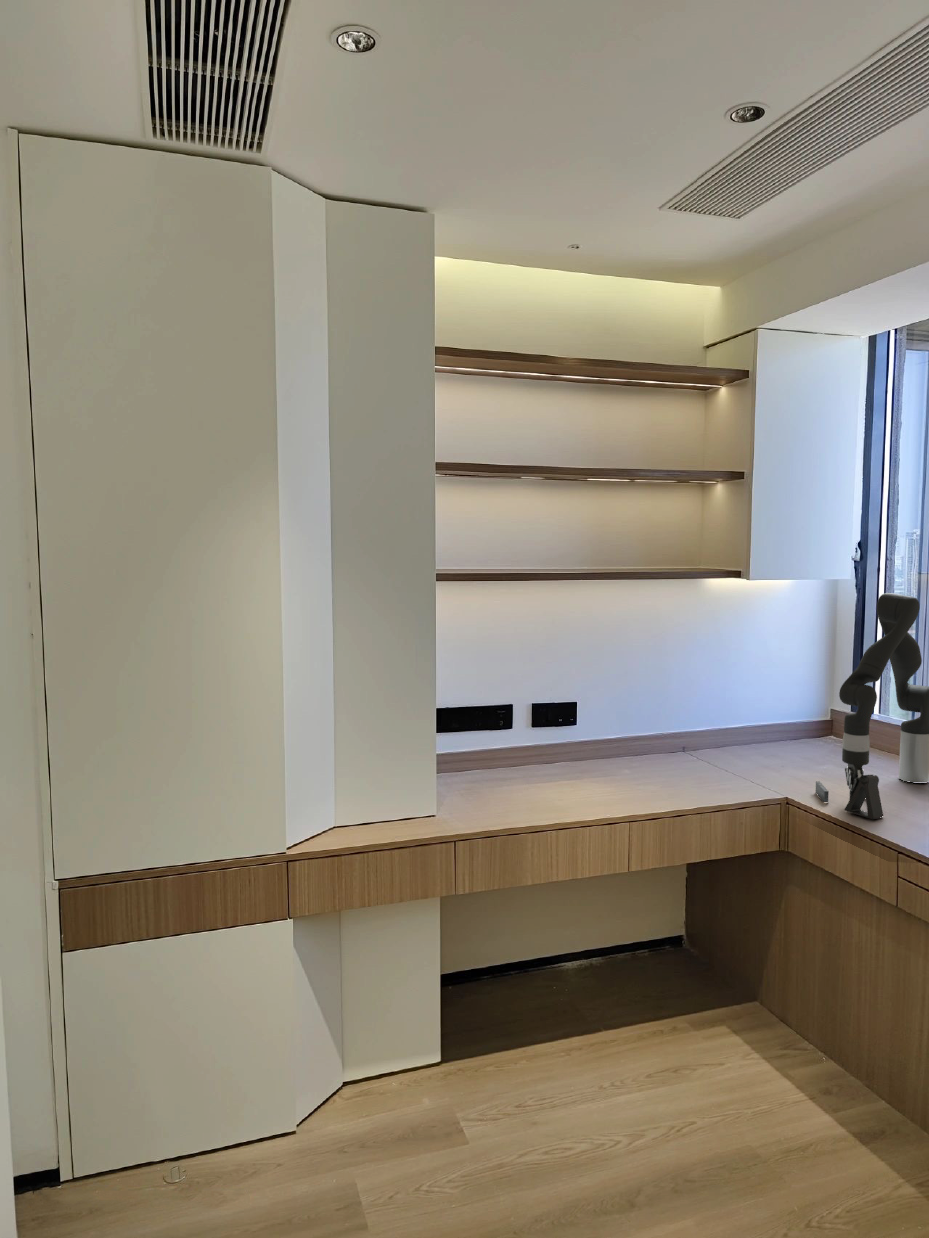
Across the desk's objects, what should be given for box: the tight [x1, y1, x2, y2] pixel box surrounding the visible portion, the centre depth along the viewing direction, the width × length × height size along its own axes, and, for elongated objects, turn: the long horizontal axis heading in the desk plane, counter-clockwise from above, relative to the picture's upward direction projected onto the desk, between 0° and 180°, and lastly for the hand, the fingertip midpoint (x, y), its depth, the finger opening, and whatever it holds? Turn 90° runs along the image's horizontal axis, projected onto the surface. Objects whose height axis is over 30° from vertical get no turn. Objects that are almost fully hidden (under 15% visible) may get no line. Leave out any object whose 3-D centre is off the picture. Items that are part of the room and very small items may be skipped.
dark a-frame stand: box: [844, 774, 884, 820], centre depth 247 cm, size 9×6×12 cm, turn 36°
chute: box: [815, 780, 829, 803], centre depth 263 cm, size 11×15×4 cm
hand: (853, 802), depth 255 cm, fingers closed
